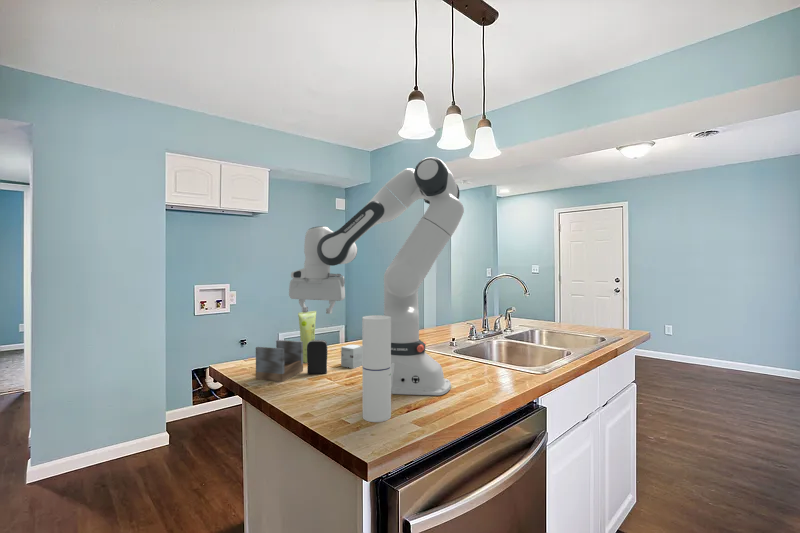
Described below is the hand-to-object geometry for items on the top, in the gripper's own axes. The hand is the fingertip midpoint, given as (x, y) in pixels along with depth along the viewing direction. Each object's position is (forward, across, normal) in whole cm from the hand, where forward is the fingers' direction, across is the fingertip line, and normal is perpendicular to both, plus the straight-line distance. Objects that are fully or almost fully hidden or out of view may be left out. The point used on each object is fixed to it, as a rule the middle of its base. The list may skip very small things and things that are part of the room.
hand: (316, 312), depth 139 cm
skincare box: (+21, -8, -12) cm, 26 cm away
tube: (+21, +11, -13) cm, 27 cm away
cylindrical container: (+21, -33, +31) cm, 50 cm away
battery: (+21, 0, 0) cm, 21 cm away
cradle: (+21, +11, +6) cm, 24 cm away
